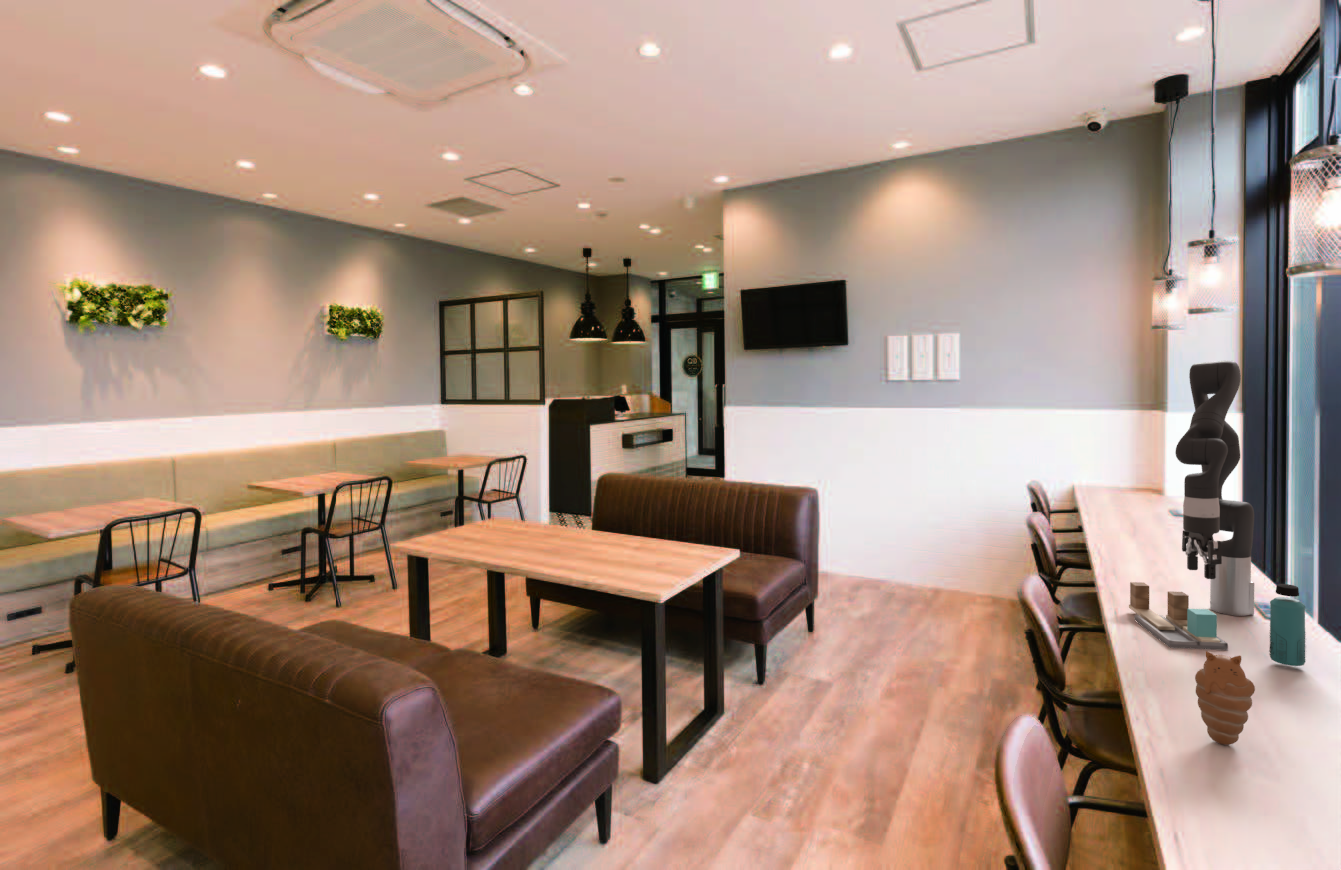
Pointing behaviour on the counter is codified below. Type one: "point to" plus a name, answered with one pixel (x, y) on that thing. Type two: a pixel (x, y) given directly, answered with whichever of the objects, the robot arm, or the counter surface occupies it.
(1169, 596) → the short strip
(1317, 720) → the counter surface
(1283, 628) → the beverage bottle
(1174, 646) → the lane board
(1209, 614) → the teal cube
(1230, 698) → the cat ice cream
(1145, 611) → the cube strip
